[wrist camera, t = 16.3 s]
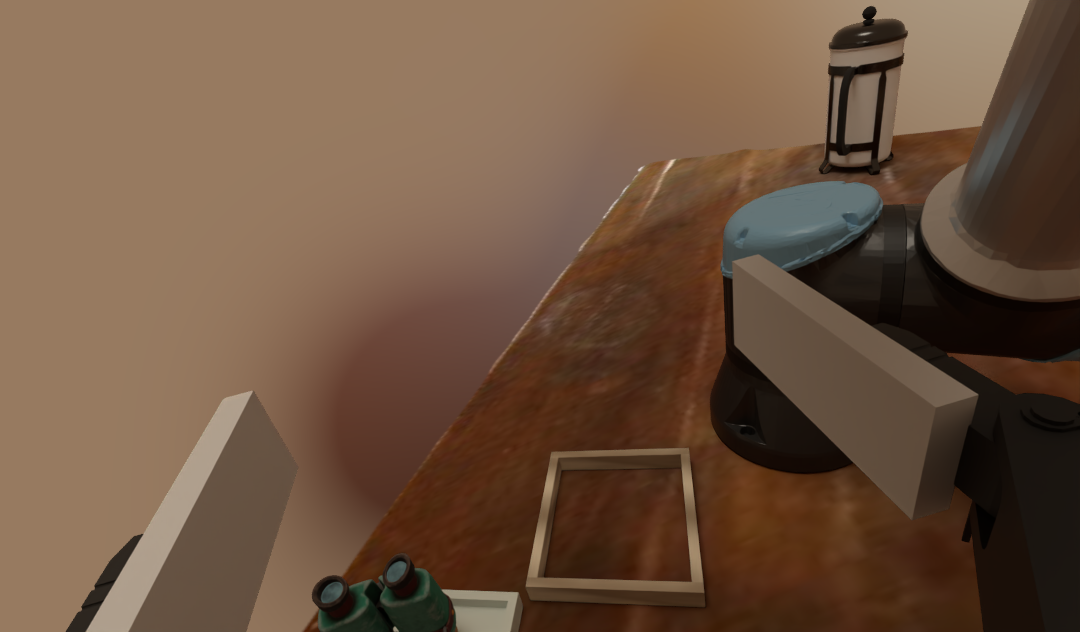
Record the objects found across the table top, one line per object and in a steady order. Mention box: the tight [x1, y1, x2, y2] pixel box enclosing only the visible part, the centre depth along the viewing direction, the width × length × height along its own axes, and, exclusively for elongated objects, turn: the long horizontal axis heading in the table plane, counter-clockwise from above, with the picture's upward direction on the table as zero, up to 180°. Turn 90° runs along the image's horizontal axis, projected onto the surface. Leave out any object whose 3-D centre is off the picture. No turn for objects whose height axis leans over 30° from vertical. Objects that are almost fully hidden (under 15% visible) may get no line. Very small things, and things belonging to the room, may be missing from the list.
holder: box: [526, 448, 705, 607], centre depth 47 cm, size 15×14×2 cm
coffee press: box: [819, 6, 908, 175], centre depth 104 cm, size 17×16×30 cm
